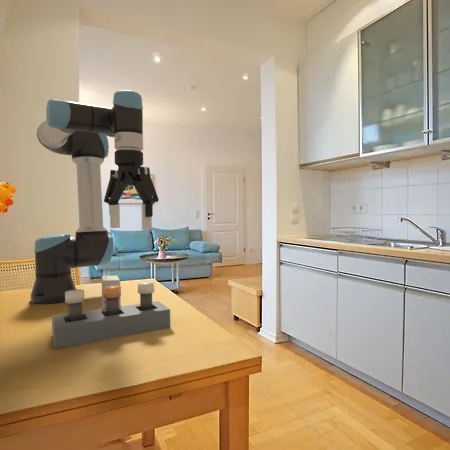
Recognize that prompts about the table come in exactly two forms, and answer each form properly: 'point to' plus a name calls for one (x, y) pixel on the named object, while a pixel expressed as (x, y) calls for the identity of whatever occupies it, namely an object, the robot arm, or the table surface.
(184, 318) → the table surface
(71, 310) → the knob
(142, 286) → the knob
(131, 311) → the board
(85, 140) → the robot arm
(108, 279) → the ink box
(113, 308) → the knob middle
